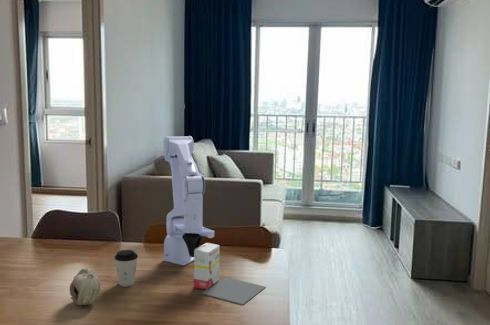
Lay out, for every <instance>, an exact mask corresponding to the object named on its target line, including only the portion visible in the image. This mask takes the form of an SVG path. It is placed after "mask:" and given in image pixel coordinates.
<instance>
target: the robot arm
mask: <svg viewBox="0 0 490 325" xmlns="http://www.w3.org/2000/svg"><path fill="white" fill-rule="evenodd" d="M194 146H195V143H194V139H193V137H192V136H191V135H188V136H168V135H166V136H165V137H164V138H163V157H164V161H165V162H168V163H169V166H170V169H171V170H170V172H171V185H172V198H173V199H172V200H173V201H172V202H173V209H171V211H169V212H168V213H167V215H166V224H165V226H166V234H167V235H166V236H165V238H164V242H163V258H162V261H163V262H166V263H167V262H168V263H171V264H176V265H180V266H186V265H187V264H190V263H191V262H194V251H195V249H196V248H198V247H200V246H201V243H202V241H203V239H204V237H206V238H208V239H213V238H214V237H215V230H212V229H210V228H207V227H204V226H203V204H204V203H203V202H204V201H203V199H204V198H203V195H204V194H205V191H206V181H205V176H204V175H203V174H202V173H200V172H199V169H198V165H197V163H196V161H194V160H192V158H191V157H192V155H193V151H194V150H195V149H194V148H195V147H194Z"/></svg>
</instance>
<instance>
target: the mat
mask: <svg viewBox="0 0 490 325" xmlns="http://www.w3.org/2000/svg"><path fill="white" fill-rule="evenodd" d="M265 289H266V286H265V285H259V284H257V283H256V284H255V283H252V282H248V281H244V280H239V279H236V278H232V277H224V279H221V281H220V280H219V281H217V282H216V283H215V284H214V285H212V286H211V287H210V288H209V289H207V290H206V289H205V290H204V291H203V292H202V293H201V295H204V296H208V297H212V298H214V299H220V300H222V301H226V302H230V303H233V304H237V305H241V306H244V305H245V304H246V303H248V302H249V301H251V300H252V299H253V298H254V297H256V296H257V295H258V294H260V293H261V292H262V291H264V290H265Z"/></svg>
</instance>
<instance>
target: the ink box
mask: <svg viewBox="0 0 490 325" xmlns="http://www.w3.org/2000/svg"><path fill="white" fill-rule="evenodd" d="M220 248H221V245H219V244H215V243H211V242H205V243H204V244H202V245H199V247H198V248H196V249H195V251H194V261H193V287H194V288H197V289H201V290H205V291H206V290H207V289H209V288H211V287H212V286H214V285H215V284H217V283H218V282H219V281H220Z"/></svg>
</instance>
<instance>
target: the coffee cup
mask: <svg viewBox="0 0 490 325" xmlns="http://www.w3.org/2000/svg"><path fill="white" fill-rule="evenodd" d="M138 257H139V256H138V254H137V253H136V252H135V250H132V249H123V250H119V251H118V252H117V253H116V254H115V256H114V260H115V266H116V273H117V281H118V284H119V286H120V287H124V288H125V287H126V288H127V287H130V286H133V285H135V281H136V280H135V279H136V273H137V272H136V271H137V262H138Z"/></svg>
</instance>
